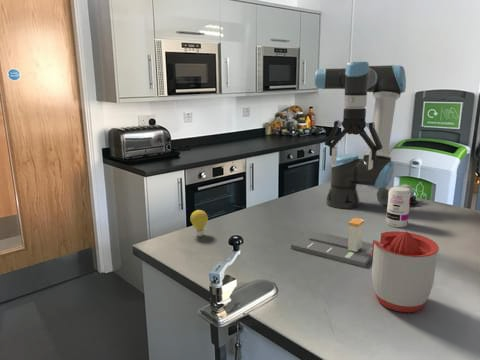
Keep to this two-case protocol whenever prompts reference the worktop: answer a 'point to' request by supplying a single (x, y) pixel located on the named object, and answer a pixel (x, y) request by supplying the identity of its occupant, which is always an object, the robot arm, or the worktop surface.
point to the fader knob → (355, 234)
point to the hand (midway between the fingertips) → (351, 166)
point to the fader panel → (332, 248)
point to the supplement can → (398, 206)
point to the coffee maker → (384, 191)
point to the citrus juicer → (403, 270)
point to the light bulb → (199, 221)
